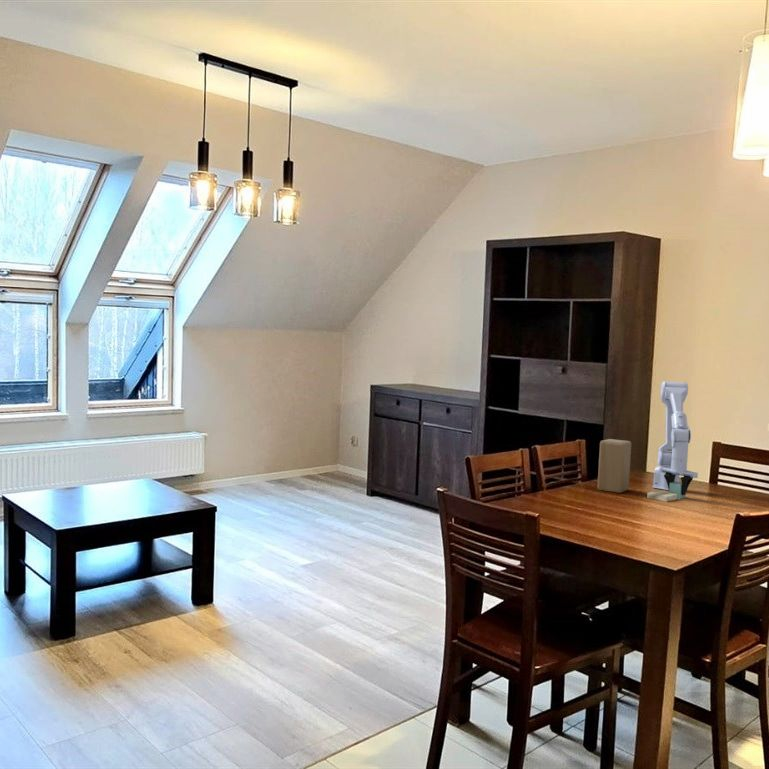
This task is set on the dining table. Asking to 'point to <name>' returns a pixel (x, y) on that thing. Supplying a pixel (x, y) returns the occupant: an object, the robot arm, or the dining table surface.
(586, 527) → the dining table surface
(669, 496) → the cream block
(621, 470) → the wooden block
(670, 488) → the teal block
